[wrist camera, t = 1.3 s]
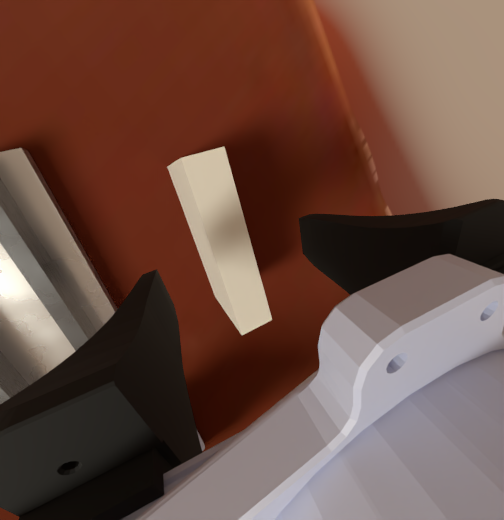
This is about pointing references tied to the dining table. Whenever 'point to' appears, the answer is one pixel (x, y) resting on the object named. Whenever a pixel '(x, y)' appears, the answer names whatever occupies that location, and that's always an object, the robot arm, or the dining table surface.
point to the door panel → (221, 235)
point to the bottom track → (41, 279)
